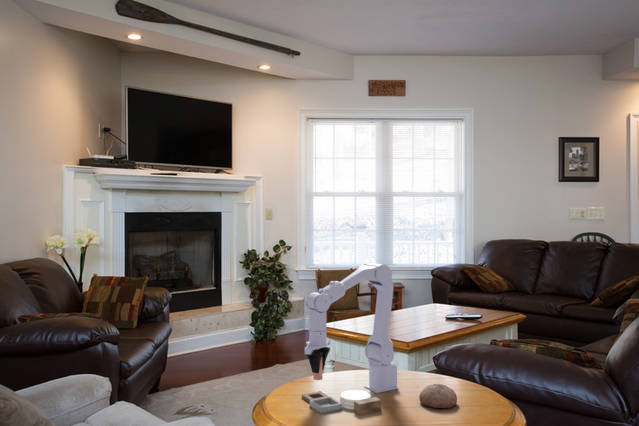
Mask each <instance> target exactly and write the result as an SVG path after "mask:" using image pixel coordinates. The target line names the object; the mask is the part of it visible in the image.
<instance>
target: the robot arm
mask: <svg viewBox="0 0 639 426" xmlns="http://www.w3.org/2000/svg"><path fill="white" fill-rule="evenodd" d="M363 281H367V282H368V283H370V284H372V285H373V287H375V289H376V290H377V292H376V293H377V294H376V302H375V311H374V313H375V314H374V320H373V330H372V335H370V336H369V337H368V338H367V344H366V345H365V348H364V355H365V356H366V358H367V362H368V373H369V374H368V384H364V386H363V387H364V388H366V389H368V390H370V391H372V392H374V393H377V394H378V393H379V394H380V393H383V392H388V391H389V392H390V391H394V390H398V389H399V386H398V369H397V368H398V367H397V365H396V364H395V362H393V360H394V358H395V351H394V343H393V341H392V340H391V338H390V335H389V334H390V325H391V315H392V305H393V298H394V297H393V295H394V282H393V270H392V269H391V268H390V266H388V265H387V264H385V263H384V264H383V263H382V264H381V263H374V262H370V261H368V262H365V263H364V264H362V265H360V266H359V267H358V269H355V271H353V272H352V273H351V274H349V275H348V276H346V277H345V278H343V279H342V280H341V281H338V280H331V281H330V282H329V283H328V285H326V286H324V287H323V288H319V289H318V290H317V292H311V293H310V294H308V296H307V297H306V301H305V302H304V303H305V306H306V308H307V310H308V337H309V338H308V341H306V342H305V344H306V346H305V347H304V355H306V357H307V359H308V361H309V365H310V368H311V373H319V369H320V361H321V357H322V371H324V369H325V366H326V362H327V361H326V360H327V358H328V356H329V353H330V351H331V348H330V347H328V346H330V345H331V338H327V333H328V331H327V326H328V325H327V311H328V310H329V308H330V307H331V305H333V303H334V302H336V301H338V300H340V299H341V298H343V297H344V296H346V295H345V294H346V291H347V290H348V289H351V288H352V287H354V286H356V285H358V284H360V283H361V282H363Z"/></svg>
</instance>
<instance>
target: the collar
mask: <svg viewBox="0 0 639 426" xmlns="http://www.w3.org/2000/svg"><path fill="white" fill-rule="evenodd" d="M325 397H330V396H329V395H327V394H326V393H324V392H323V391H321V390H319V391H315V392H308V393H304V394H303V393H302V394H301V399H302V400H305V402H307V403H308V404H310V400H314V399H319V398H325Z"/></svg>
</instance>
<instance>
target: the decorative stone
mask: <svg viewBox="0 0 639 426" xmlns="http://www.w3.org/2000/svg"><path fill="white" fill-rule="evenodd" d="M418 397H419V399H418V400H419V402H420V403H421V404H423V405H424V406H427V407H430V408H442V409H446V408H451V407H454V406H455V405H456V404H457V401H458V395H457V393H456V392H455V390H453V389H452V388H451V387H449V386H447V385H445V384H443V383H433V384H430V385H428V386H426V387H425V388H423V389H422V390H421V392H420V393H419V396H418Z"/></svg>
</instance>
